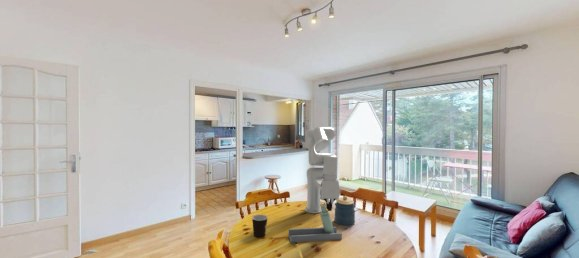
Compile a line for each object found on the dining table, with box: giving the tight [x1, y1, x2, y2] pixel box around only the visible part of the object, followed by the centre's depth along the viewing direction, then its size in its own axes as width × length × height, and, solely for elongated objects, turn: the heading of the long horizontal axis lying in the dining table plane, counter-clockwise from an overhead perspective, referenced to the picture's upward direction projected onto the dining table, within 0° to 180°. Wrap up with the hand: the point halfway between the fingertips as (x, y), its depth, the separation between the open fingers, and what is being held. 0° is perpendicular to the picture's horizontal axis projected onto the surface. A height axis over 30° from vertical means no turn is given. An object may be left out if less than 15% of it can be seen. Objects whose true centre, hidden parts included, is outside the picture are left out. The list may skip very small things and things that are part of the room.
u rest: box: [288, 226, 343, 245], centre depth 131 cm, size 9×28×4 cm, turn 100°
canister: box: [333, 195, 356, 227], centre depth 153 cm, size 13×13×18 cm
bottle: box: [320, 202, 334, 234], centre depth 132 cm, size 5×5×18 cm
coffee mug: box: [251, 214, 268, 239], centre depth 135 cm, size 12×9×10 cm
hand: (329, 209), depth 132 cm, fingers closed
